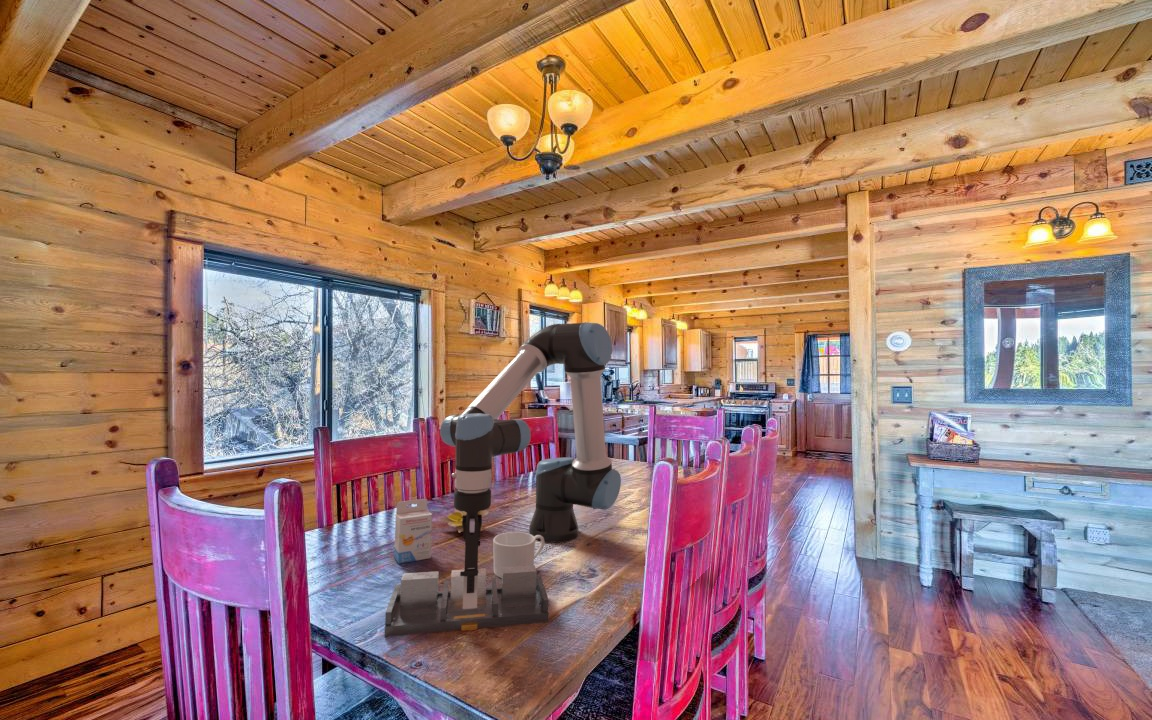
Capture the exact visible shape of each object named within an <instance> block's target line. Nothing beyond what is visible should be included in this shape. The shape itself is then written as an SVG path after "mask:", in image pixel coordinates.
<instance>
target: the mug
mask: <svg viewBox="0 0 1152 720" xmlns="http://www.w3.org/2000/svg"><path fill="white" fill-rule="evenodd" d="M538 538H540V539H541V541H540V544H539V547H538V549H537V550H536V539H538ZM492 546H493V547H492V548H493V553H492V554H493V555H492V556H493V559H492V561H493V573H494V575H495V576H496V577H498V578H500V579H502V567H514V566H530V565H534V564H535V563H534V562H535V559H536V558H537V557H538V556H539V554H540V553H541V552H542V550H543V549H544V548H545V547H544V546H545V541H544V538H543V537H542V536H541V535H536V536H533V535H531V534H529V533H528V532H524V531H507V532H503V533H499V534H497V535H495V536H494V537H493V539H492ZM535 550H536V551H535Z"/></svg>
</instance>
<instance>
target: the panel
mask: <svg viewBox="0 0 1152 720" xmlns="http://www.w3.org/2000/svg"><path fill="white" fill-rule="evenodd" d="M464 571H465V570H464V569H452V570H451V573H450V591H451V599H450V612H454V611H466V610H479V609H485V603H486V588H487V568H485V567H484V568H483V567H481V568H478V590H477V608H471V609H463V579H464V576H460V572H464Z"/></svg>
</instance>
